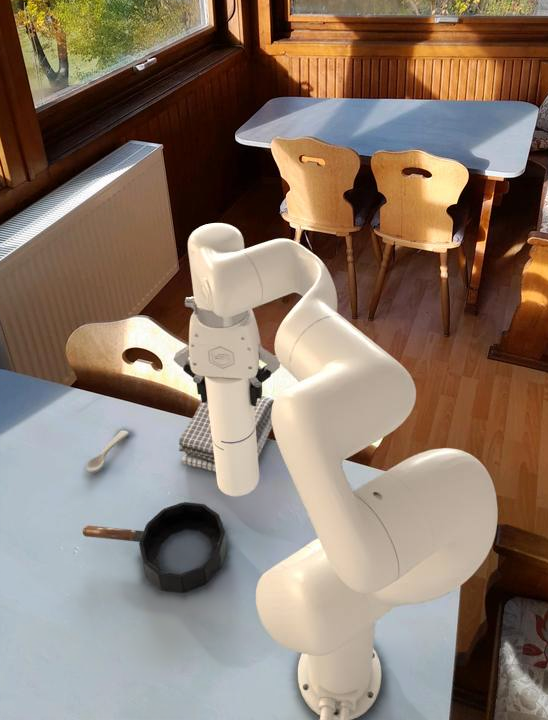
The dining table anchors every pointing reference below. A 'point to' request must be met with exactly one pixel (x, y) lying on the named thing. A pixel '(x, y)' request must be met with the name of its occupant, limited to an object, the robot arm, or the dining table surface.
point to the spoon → (105, 453)
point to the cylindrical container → (233, 434)
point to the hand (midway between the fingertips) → (230, 397)
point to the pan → (161, 530)
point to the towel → (200, 438)
